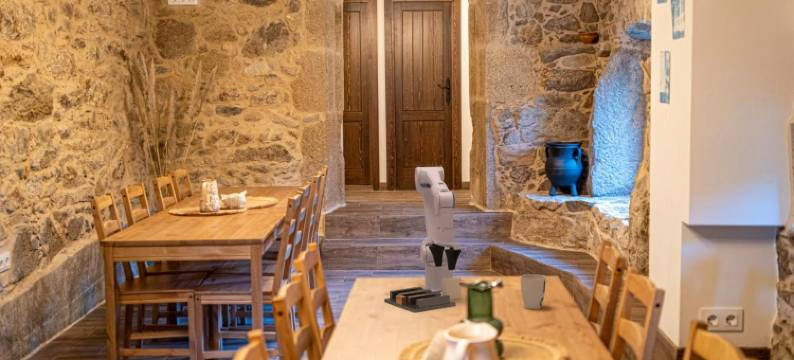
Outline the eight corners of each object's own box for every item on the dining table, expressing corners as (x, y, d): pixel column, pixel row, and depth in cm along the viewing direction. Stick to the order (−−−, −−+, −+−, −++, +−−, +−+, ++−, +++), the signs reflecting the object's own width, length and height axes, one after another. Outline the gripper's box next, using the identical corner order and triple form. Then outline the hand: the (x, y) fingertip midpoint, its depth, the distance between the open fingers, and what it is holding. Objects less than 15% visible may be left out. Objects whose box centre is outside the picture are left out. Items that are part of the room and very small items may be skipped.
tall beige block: (456, 297, 306) (456, 276, 305) (460, 298, 304) (460, 277, 303) (442, 299, 302) (442, 278, 302) (446, 300, 300) (446, 279, 300)
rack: (424, 295, 308) (424, 285, 308) (455, 305, 293) (455, 295, 293) (384, 301, 299) (384, 291, 299) (414, 312, 284) (414, 301, 284)
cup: (547, 310, 286) (547, 279, 285) (521, 310, 286) (521, 279, 285) (543, 304, 294) (544, 274, 293) (518, 304, 294) (518, 274, 293)
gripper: (422, 226, 305) (423, 266, 306) (447, 231, 292) (447, 272, 294) (439, 224, 308) (440, 264, 310) (465, 229, 296) (465, 270, 297)
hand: (445, 268), depth 302 cm, fingers open, 7 cm apart
